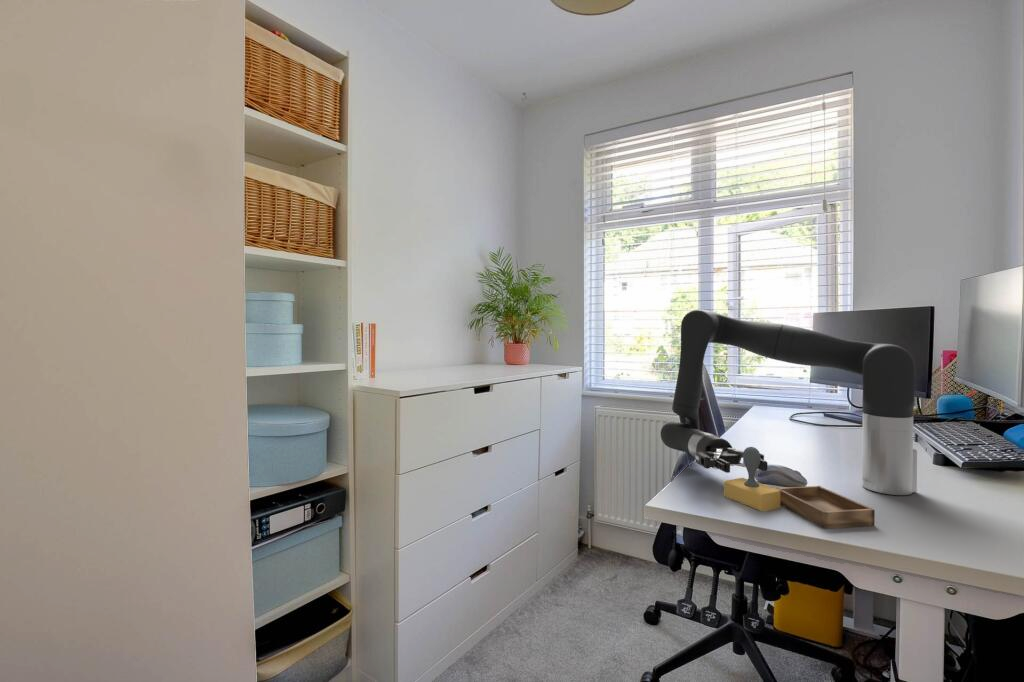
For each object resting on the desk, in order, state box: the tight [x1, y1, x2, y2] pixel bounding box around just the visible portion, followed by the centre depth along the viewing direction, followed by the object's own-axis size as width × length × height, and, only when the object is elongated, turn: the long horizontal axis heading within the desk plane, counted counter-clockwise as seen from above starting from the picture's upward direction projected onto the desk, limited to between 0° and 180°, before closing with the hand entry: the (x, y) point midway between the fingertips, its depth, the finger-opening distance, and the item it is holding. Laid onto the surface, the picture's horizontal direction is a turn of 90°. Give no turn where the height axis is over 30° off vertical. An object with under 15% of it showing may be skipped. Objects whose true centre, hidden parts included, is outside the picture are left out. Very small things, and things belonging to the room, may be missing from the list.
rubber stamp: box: [723, 446, 781, 512], centre depth 105 cm, size 10×6×12 cm, turn 23°
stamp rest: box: [774, 485, 876, 530], centre depth 99 cm, size 10×14×3 cm
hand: (747, 467), depth 107 cm, fingers open, 8 cm apart
